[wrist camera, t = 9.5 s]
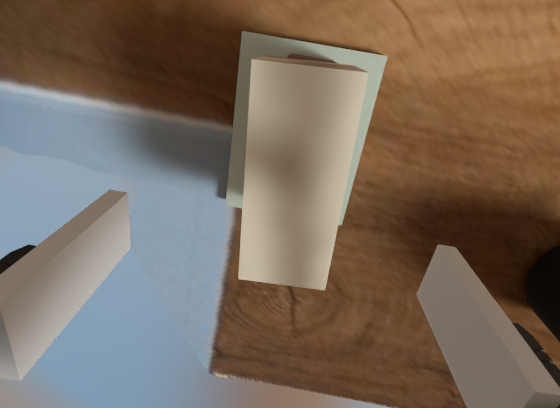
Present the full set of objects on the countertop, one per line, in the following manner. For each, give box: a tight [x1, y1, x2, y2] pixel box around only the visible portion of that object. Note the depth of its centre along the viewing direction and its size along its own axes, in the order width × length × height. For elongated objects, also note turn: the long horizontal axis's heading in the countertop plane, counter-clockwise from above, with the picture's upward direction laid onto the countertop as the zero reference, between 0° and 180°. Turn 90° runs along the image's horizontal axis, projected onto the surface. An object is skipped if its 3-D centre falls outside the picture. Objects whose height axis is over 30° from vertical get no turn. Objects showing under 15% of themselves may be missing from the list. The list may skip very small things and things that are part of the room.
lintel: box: [238, 55, 369, 290], centre depth 23 cm, size 6×14×6 cm, turn 174°
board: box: [225, 31, 387, 225], centre depth 32 cm, size 12×16×1 cm
